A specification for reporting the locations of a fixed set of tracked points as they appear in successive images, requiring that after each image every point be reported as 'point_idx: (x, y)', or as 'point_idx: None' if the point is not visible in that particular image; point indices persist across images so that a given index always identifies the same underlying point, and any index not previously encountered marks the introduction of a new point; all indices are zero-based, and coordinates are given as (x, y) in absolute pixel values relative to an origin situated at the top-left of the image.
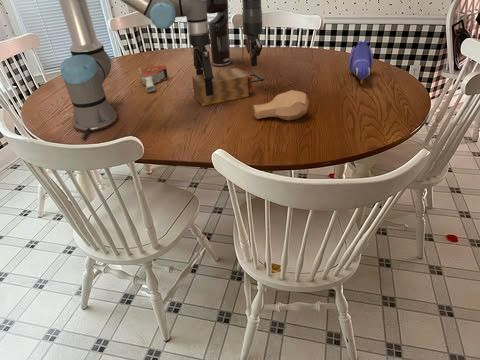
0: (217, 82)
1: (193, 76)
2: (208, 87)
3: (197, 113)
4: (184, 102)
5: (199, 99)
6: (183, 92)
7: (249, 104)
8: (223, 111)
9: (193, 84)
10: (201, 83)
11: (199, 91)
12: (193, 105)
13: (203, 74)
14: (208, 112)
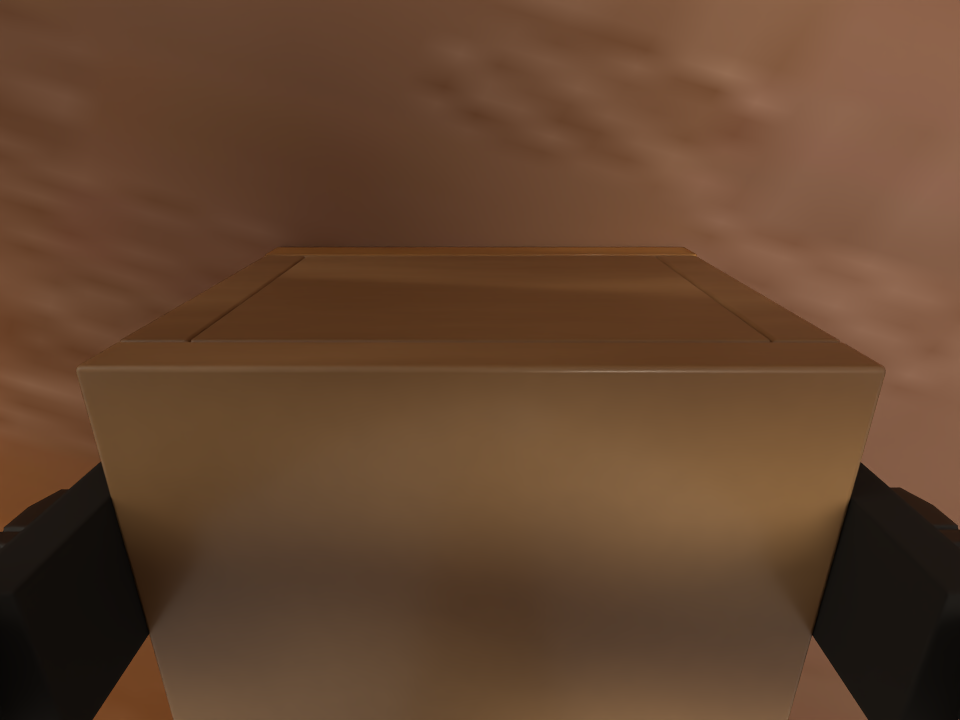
0: (184, 717)
1: (836, 396)
2: (36, 505)
3: (33, 102)
4: (535, 14)
5: (389, 258)
6: (950, 117)
7: (137, 695)
8: (21, 435)
9: (741, 300)
10: (187, 438)
11: (267, 302)
12: (349, 128)
13: (788, 632)
14: (33, 262)
